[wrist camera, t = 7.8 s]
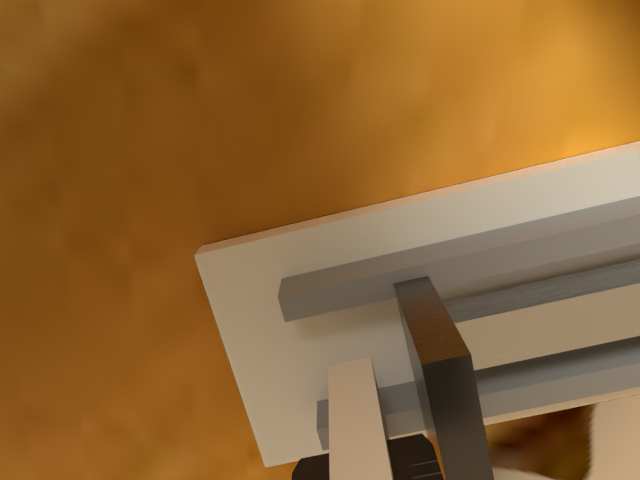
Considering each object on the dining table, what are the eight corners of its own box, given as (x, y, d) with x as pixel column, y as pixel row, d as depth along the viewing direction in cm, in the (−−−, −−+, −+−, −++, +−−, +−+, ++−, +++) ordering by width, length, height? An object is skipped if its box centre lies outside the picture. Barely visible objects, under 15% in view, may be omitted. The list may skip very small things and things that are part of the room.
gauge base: (268, 448, 23) (248, 573, 17) (200, 245, 20) (149, 311, 14) (869, 326, 21) (1081, 419, 15) (885, 82, 18) (1154, 79, 12)
